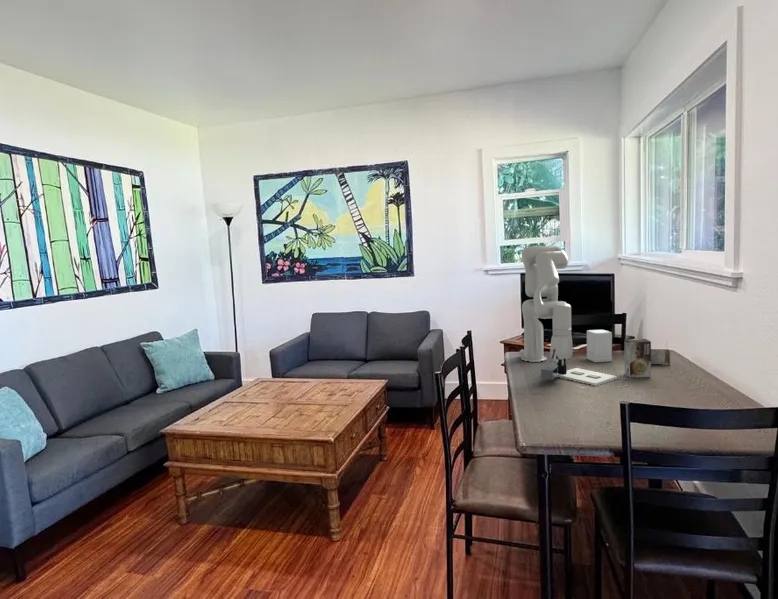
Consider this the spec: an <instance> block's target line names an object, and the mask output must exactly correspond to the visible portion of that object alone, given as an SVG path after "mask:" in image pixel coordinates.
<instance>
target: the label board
mask: <svg viewBox="0 0 778 599" xmlns="http://www.w3.org/2000/svg"><path fill="white" fill-rule="evenodd" d="M558 377H560V378H559V379H563V378H564V380H567V379H569V380H568V381H571V380H573V382H576V381H578V382H577V383H580V382H583V383H582V384H584V383H587V384H586V385H588V384H591V385H590V386H593V385H594V386H593V387H597V385H598V386H600V384H601V385H604V384H607V383H609V381H610V382H612V381H615V380H617V379H618V375H613V374H608V373H603V372H597V371H593V370H589V369H583V368H580V367H575V368H571V369H566V374H565V375H562V374H559V375H558V376H557V377H556V378H558ZM614 379H615V380H614ZM606 382H607V383H606ZM603 383H604V384H603Z"/></svg>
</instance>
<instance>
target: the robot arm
mask: <svg viewBox="0 0 778 599" xmlns="http://www.w3.org/2000/svg"><path fill="white" fill-rule="evenodd" d="M521 252H522V253H521V259H522V263H523V265H524V270H525V271H524V273H525V274H524V275H525V281H524V282H525V284H524V288H525V294H526V296H527V297H529V298H533V299H527V300H524V301H523V303H522V305H521V310H522V311H521V312H522V318H523V340H524V341H523V343H524V344H523V345H524V346H523V347H524V349H520V350H519V351H518V353H519V354H521V355H522V356H521V358H520V359H521V360H522V361H523V360H524V362H527V361H529V363H530V362H531V363H541V361H543V362H545V360H546V361H547V356H545V355H544V325H543V323H542V322H541V321H540V320H539V319H542V320H543V319H544V320H546V319H552V335H551V339H550V347H549V348H550V350H549V356H550V358H551V359H553V360H552V361H553V362H556V363H557V365H558V374H562V375H565V374H566V371H567V369H566V365H567V362H568V361H569V360H571V357H573V351H574V348H573V339H572V338H573V337H572V306H571V304H569V303H567V301H563V300H558V299H559V297H558V296H559V285H558V284H559V283H560V277H559V274H558V270H563V269H565V268H567V267H568V264H569V259H568V255H567V253H566V252H565V250H563V249H562V248H561V247H559V246H557V245H533V246H527V247H525V248H523V250H522V251H521ZM545 297H546V298H545ZM568 363H569V362H568Z"/></svg>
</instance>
